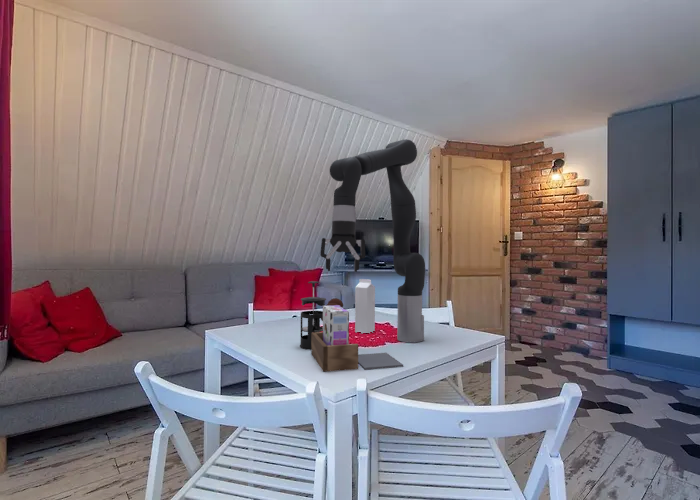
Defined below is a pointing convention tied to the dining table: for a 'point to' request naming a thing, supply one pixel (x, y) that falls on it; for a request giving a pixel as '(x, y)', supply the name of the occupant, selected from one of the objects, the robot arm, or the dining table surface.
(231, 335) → the dining table surface
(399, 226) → the robot arm
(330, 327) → the candy box
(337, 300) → the ice cream bowl
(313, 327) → the french press
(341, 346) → the holder
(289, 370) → the dining table surface
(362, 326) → the milk
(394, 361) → the mat
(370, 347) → the dining table surface
